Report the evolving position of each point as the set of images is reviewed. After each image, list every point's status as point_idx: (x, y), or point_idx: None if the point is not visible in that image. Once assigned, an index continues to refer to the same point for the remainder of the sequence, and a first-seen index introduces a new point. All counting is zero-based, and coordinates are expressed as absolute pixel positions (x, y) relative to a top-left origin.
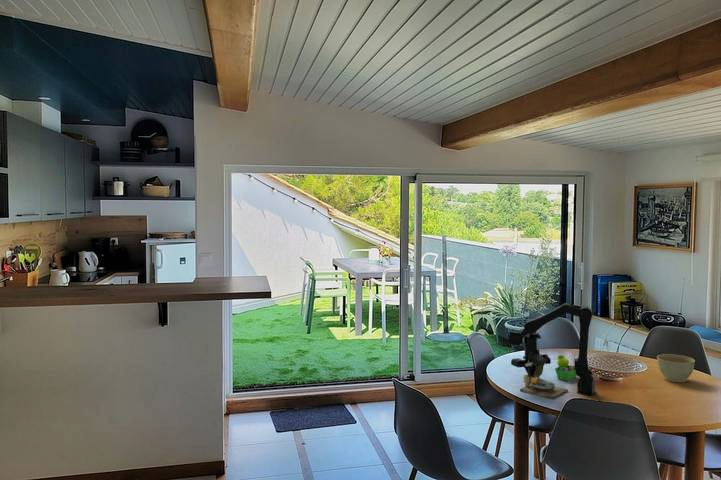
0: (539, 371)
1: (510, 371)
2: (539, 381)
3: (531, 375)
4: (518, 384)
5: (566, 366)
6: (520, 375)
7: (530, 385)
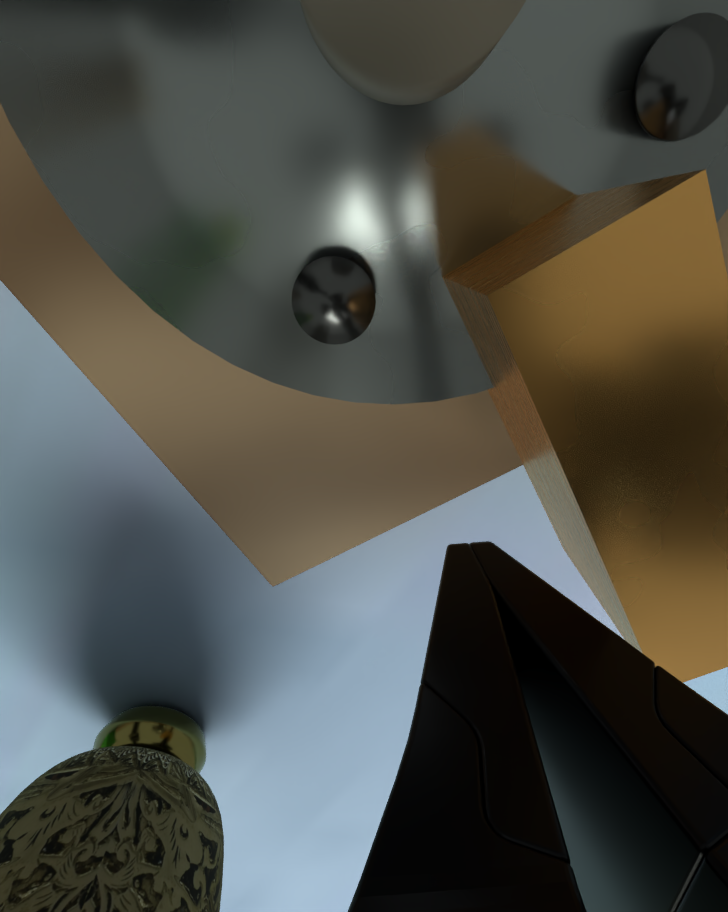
0: (61, 830)
1: (335, 906)
2: (356, 349)
3: (528, 603)
4: (561, 593)
5: None
6: (300, 825)
7: (499, 434)
